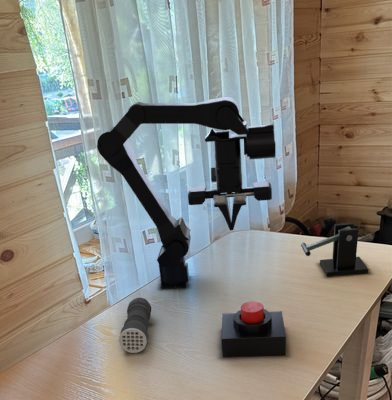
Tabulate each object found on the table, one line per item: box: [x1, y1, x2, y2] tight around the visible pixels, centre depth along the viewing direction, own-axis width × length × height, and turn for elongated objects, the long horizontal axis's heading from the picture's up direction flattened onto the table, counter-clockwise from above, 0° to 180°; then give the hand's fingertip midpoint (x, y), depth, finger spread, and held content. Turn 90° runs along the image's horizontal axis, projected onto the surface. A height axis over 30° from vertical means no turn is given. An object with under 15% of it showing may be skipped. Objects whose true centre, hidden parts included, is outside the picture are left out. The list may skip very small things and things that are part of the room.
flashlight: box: [118, 297, 152, 354], centre depth 108 cm, size 15×5×5 cm, turn 0°
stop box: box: [220, 308, 287, 358], centre depth 101 cm, size 12×10×6 cm
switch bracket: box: [319, 222, 369, 278], centre depth 126 cm, size 10×8×11 cm
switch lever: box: [300, 226, 351, 257], centre depth 124 cm, size 12×6×2 cm, turn 90°
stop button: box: [240, 301, 265, 323], centre depth 99 cm, size 4×4×2 cm
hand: (231, 229), depth 121 cm, fingers closed
